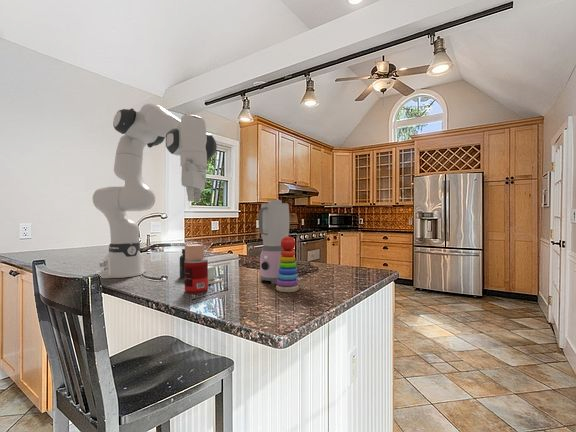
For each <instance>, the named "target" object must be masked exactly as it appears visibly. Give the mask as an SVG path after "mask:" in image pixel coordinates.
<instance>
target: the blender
mask: <svg viewBox="0 0 576 432" xmlns="http://www.w3.org/2000/svg"><path fill="white" fill-rule="evenodd" d="M257 216H258V220H257V221H258V223H257V225H258V232H259V234H261V238H262V244H263V245H262V250H261V253H260V255H259V265H260V266H259V268H260V269H259V270H260V271H259V273H260V275H259V276H260V277H259V279H260V280H259V281H260V282H261V283H262V282H263V281H269V282H270V284H271V285H278V284H277V283H276V281H277V279H278V274H279V271H278V270H279V268H280V266H279V263H280V262H281V261H280V257H281V256H282V255H281V251H282V250H284V249H283V248H282V247H281V240H282V239H283V238H284V237H287V236H289V235H290V205H289V203H287V202H286V203H284V202H282V200H281V199H269V200H268V203H267V202H266V203H261V207H260V209H259V211H258V215H257Z"/></svg>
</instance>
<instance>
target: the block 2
mask: <svg viewBox="0 0 576 432" xmlns="http://www.w3.org/2000/svg"><path fill="white" fill-rule="evenodd" d="M215 273H216V272H215V266H211V265H210V266H209V265H208V281H210V280H213V279H216V278H215Z"/></svg>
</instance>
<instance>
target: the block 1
mask: <svg viewBox="0 0 576 432" xmlns="http://www.w3.org/2000/svg"><path fill="white" fill-rule="evenodd" d="M184 249H185V259H186V260H188V261H195V260H204V259H203V258H204V244H200V243H195V244H184Z"/></svg>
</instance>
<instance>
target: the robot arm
mask: <svg viewBox="0 0 576 432" xmlns="http://www.w3.org/2000/svg"><path fill="white" fill-rule="evenodd" d="M112 123H113V125H112V126H113V128H114V130H115V131H116V132H118V133H120V134H121V135H122V136H121V137H120V138H119V141H118V143H117V147H116V151H115V157H114V158H115V159H114V165H113V172H114V175H115V176H116V177H117V178H118V179H121V180H123V181H124V185H123V186H105V187H100V188H97V189H95V191H94V192H93V194H92V203H93V205H94V207H95V208H96V209H97V210H98V211H99V212H101V213H102V214H103V215H104V216H105V218H106V219H107V222H108V225H109V233H110V243H109V245H108V253H107V254H106V256H105V257H104V258H103V259H102V260H101V261H100V262H99V267H100V268H101V270H97V271H96V272H95V275H97V274H99V275H100V276H101V277H100V276H99V277H100V278H102V279H113V278H114V279H119V278H120V279H121V278H130V277H137V276H139V275H143V274H144V273H146V272H147V269H145V266H144V255H143V253H141V252H140V250H141V243H140V231H139V230H140V228H139V227H140V226H139V225H138V224H137V222H135V221H134V220H133V219H130V218H129V217H128V216H127V212H144V211H148V210H152V209H153V207H154V206H155V202H156V196H155V193H154V191H153V190H152V189H151V188H150V187H148V185H147V184H146V183H145V182H144V180H143V175H142V174H143V160H144V159H143V155H144V148H145V147H146V145H147V147H148V148H150V149H151V148H153V147H155V146H158V145H161V144H162V143H163V142H164V141H165V148H166V149H167V151H168V152H169V153H170V154H171V155H175V156H180V158H179V160H180V165H179V166H180V167H181V179H180V180H181V186H183V188H186V189H185V190H186V191H185V192H186V194H187V201H188V202H195V203H200V202H201V196H202V195H201V194H202V191H205V189H206V181H207V180H206V177H207V176H206V175H207V172H206V171H208V160H210V159H211V158H212V157H213V156H214V155H215V154H216V152H217V149H218V148H217V142H216V140H215V137H214V136H213V135H212V133H208V132H207V125H206V121H205V118H203V117H201V116H199V115H194V114H183V115H182V116H181V118H180V119H179V118H178V117H177V116H175V115H174V114H172V113H171V112H170V111H168V110H167V109H165V108H164V107H162V106H161V105H159V104H156V103H152V102H149V103H145V104H143V105H142V106H141V108H140V110H139V111H136V110H135V109H134V108H130V109H128V108H123V109H119V110H118V111H116V113H115V115H114V117H113V122H112Z"/></svg>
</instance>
